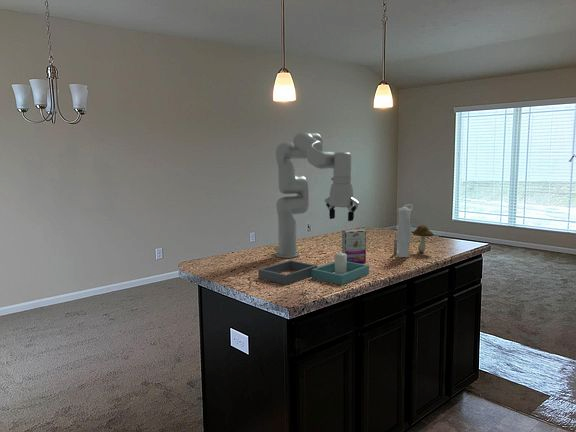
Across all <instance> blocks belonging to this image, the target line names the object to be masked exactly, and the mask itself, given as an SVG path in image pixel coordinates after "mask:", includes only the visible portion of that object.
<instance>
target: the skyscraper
mask: <svg viewBox="0 0 576 432" xmlns="http://www.w3.org/2000/svg"><path fill="white" fill-rule="evenodd" d="M407 206H411V207H410V208H409V207H407ZM413 208H414V204H411V203H408V204H405V205H404V206H402V207H398V208H397V212H398V213H397V214H398V221H397V222H398V223H397V227H396V228H397V229H396V234H395V235H394V236H395V237H394V245H393V254H392V255H393V256H394V257H395V258H396V257H397V258H400V259H401V257H402V258H403V257H410V258H411V256H410V254H409V251H410V245H411V241H412V224H411V219H410V218H411V216H412V212H413ZM403 259H404V258H403Z"/></svg>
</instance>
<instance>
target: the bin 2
mask: <svg viewBox="0 0 576 432" xmlns="http://www.w3.org/2000/svg"><path fill="white" fill-rule="evenodd" d="M369 274H370V265H369V264H365V263H353V262H347V266H346V273H344V274H342V275H341V274H336V273H335V261H333V262H330V263H327V264H324V265H321V266H317V268H314V269H312V276H311V279H313V280H318V281H323V282H326V283H332V284H337V285H340V286H342V285H345V284H348V283H351V282H353V281H356V280H358V279H360V278H363V277H365V276H368V275H369Z"/></svg>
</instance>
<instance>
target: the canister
mask: <svg viewBox="0 0 576 432" xmlns="http://www.w3.org/2000/svg"><path fill="white" fill-rule="evenodd" d="M334 262H335V271H334V273H336V274H341V275H342V274H344V273H347V270H346V266H347V254H345V253H342V252H336V253H334Z"/></svg>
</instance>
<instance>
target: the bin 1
mask: <svg viewBox="0 0 576 432" xmlns="http://www.w3.org/2000/svg"><path fill="white" fill-rule="evenodd" d="M317 267H318V265H317V264H311V263H306V262H301V261H297V260H292V259H290V260H286V261H283V262H279V263H276V264H273V265H268V266H265V267H262V268H258V277H257V278H258V279H260V278H261V279H260V280H264V279H265V280H264V281H269V282H273V283H276V284H281V285H285V286H287V284H288V285H291V284H293V283H296V282H299V281H301V280H304V279H307V278H312V269H314V268H317ZM286 270H287V271H289V270H291V271H292V270H293V272H290V273H286V274H284V273H283V271H284V272H286Z"/></svg>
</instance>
